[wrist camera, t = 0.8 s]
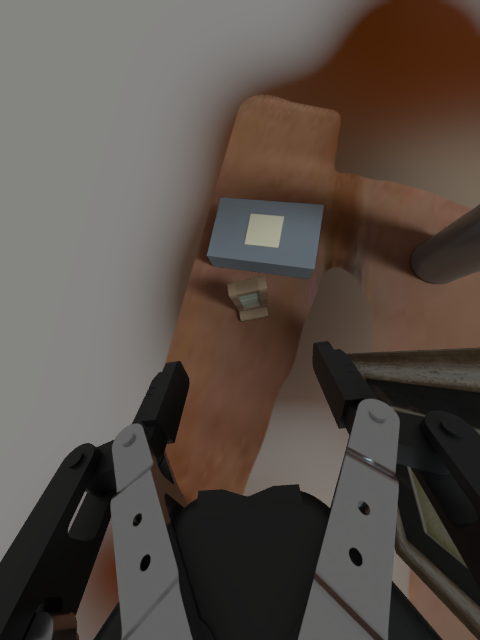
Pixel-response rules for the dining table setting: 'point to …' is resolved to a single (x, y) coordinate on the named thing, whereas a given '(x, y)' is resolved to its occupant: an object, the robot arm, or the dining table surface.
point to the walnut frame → (250, 298)
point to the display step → (266, 236)
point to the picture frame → (413, 505)
